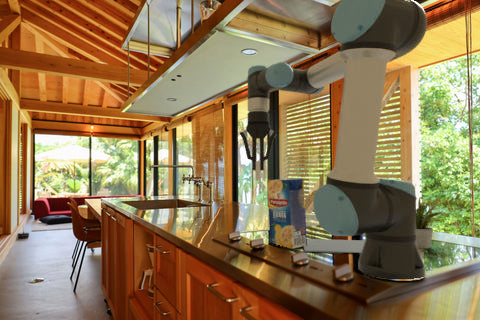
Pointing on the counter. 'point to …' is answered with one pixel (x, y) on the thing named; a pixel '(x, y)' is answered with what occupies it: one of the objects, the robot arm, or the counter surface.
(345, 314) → the counter surface
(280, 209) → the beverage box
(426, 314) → the counter surface
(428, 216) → the house plant
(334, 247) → the light grey flat slab
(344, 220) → the robot arm
